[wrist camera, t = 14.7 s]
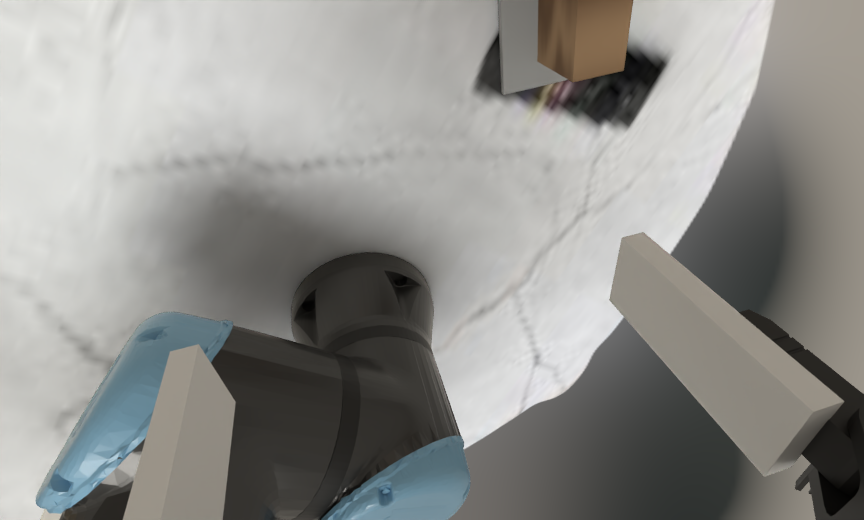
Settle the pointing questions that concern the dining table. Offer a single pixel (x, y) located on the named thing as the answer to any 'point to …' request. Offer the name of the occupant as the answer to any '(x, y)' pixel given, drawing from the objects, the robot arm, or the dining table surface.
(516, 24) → the rest mat
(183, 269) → the dining table surface
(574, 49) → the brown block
